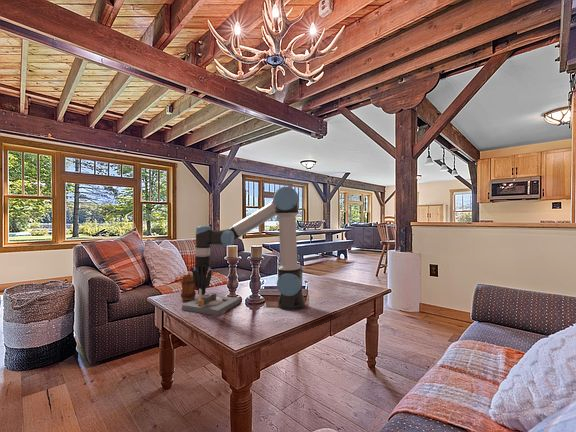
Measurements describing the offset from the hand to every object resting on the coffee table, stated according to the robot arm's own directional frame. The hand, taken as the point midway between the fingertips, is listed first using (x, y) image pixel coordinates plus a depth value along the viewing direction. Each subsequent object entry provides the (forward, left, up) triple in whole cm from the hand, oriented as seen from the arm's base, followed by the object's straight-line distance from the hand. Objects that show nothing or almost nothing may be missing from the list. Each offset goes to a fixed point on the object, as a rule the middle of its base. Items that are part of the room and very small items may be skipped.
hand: (201, 300), depth 151 cm
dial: (-1, -5, -4) cm, 6 cm away
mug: (+18, -15, -5) cm, 24 cm away
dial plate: (-1, -8, -5) cm, 10 cm away
